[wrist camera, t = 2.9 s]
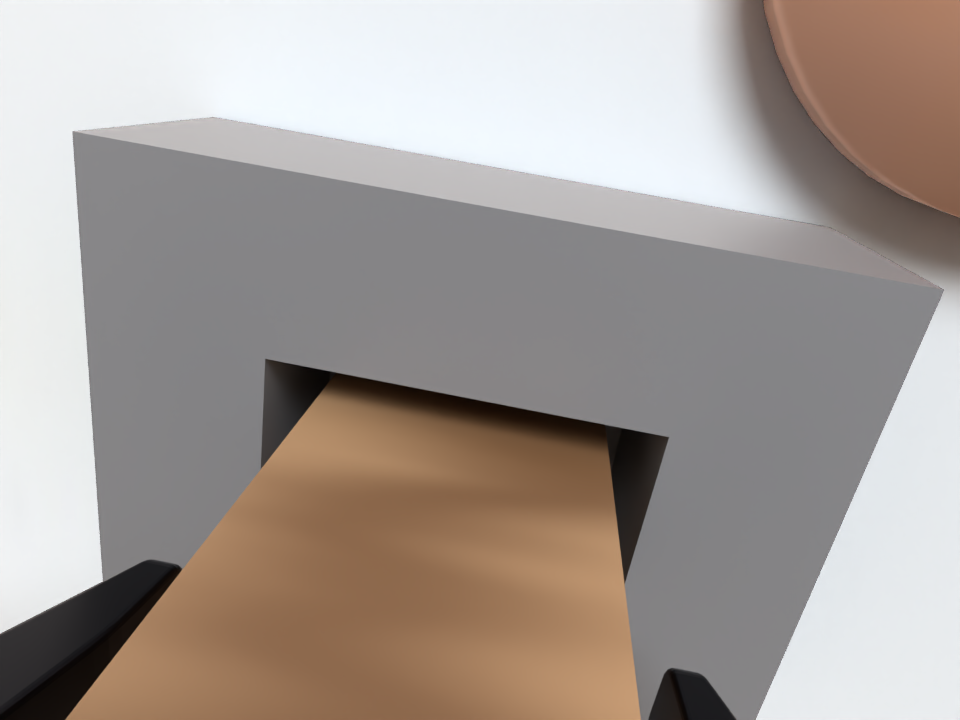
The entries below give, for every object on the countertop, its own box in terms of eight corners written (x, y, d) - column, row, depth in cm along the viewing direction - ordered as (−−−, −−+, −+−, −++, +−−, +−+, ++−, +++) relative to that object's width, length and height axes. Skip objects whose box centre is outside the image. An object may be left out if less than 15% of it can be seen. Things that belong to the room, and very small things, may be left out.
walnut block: (599, 376, 12) (662, 888, 4) (552, 565, 13) (537, 1180, 6) (368, 332, 12) (40, 750, 4) (348, 523, 13) (81, 1071, 6)
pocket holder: (830, 227, 11) (943, 289, 8) (664, 691, 15) (692, 862, 11) (213, 117, 11) (72, 131, 8) (209, 595, 15) (113, 735, 12)
